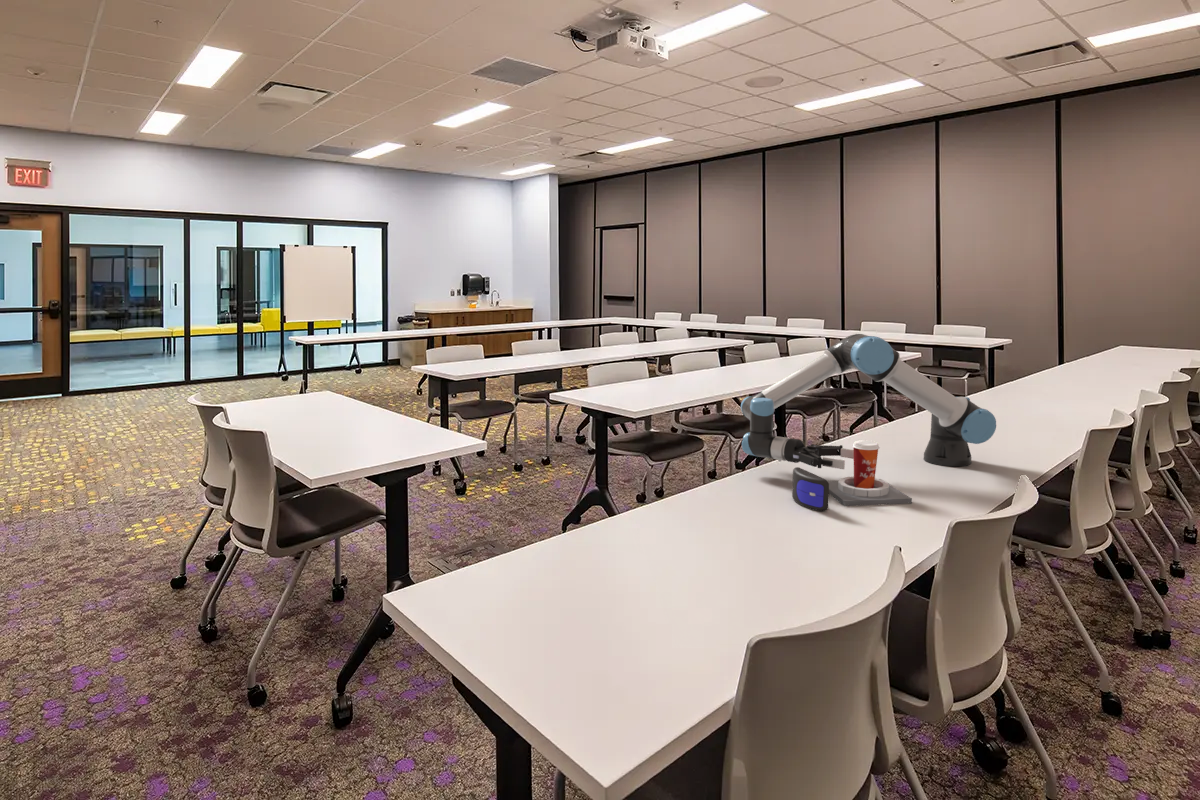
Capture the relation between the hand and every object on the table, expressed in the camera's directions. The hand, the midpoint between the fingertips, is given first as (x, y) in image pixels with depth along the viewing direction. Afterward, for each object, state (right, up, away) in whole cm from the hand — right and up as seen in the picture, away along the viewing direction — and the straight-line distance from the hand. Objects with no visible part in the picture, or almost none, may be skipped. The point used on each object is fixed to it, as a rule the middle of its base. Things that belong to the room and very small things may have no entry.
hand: (853, 460), depth 211 cm
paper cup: (+4, -9, +2) cm, 10 cm away
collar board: (+3, -10, 0) cm, 11 cm away
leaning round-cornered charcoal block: (-16, -12, -8) cm, 21 cm away
